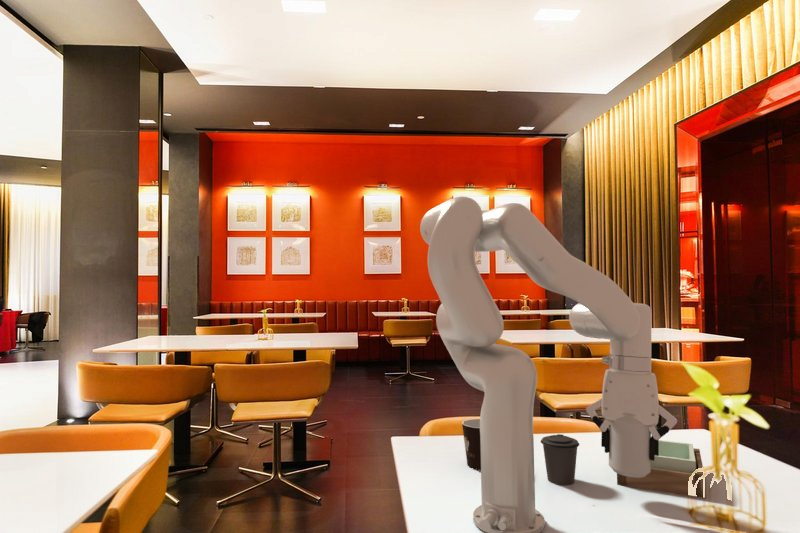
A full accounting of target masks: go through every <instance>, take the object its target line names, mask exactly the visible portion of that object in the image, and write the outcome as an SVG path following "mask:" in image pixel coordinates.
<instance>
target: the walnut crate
mask: <svg viewBox="0 0 800 533" xmlns="http://www.w3.org/2000/svg"><path fill="white" fill-rule="evenodd" d="M693 449H694V455H695V461H696V469H698V468H702V467H703V468H704V466H703V465H704V464H703V460H702V455H701V450H700V448H694V447H693ZM694 471H695V470H694ZM691 475H692V473H685V472H678V471H671V470H664V469H657V468H651V472H650V473H649V474H647V475H646V476H645V477H641V478H635V477H628V476H624V475H620V474H618V473H616V485H619V486H624V487H631V488H637V489H642V490H649V491H655V492H660V493H661V492H662V493H668V494H673V495H681V496H686V497H687V496H688V481H689V477H690V476H691ZM702 475H703V472H697V473H695V475H694V476H693V480H692V484H693V487H694V485H695V483H696V481H697V480H698V478H699V477H701V476H702ZM706 488H707V487H706V486H705V490H707V489H706ZM705 492H706V491H705ZM706 493H707V492H706ZM696 495H697V497H696V498H700V499H704V498H703V479H701V480H699V482H698V484H697V488H696ZM688 497H689V496H688Z"/></svg>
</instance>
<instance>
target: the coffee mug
mask: <svg viewBox="0 0 800 533" xmlns="http://www.w3.org/2000/svg"><path fill="white" fill-rule="evenodd" d="M461 424H462V425H461V426H462V434H463V441H464V448H465V450H464V451H465V458H466V465H467V467H468V466H469V467H468V468H470V469H472V468H473V469H472V470H478V471H479V470H480V471H481V442H480V418H470V419H466V420H463V421H462V422H461Z"/></svg>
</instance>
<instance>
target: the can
mask: <svg viewBox="0 0 800 533" xmlns="http://www.w3.org/2000/svg"><path fill="white" fill-rule="evenodd" d="M622 414H623V415H624V417H620V418H618V419H616V420H615V421H614V422H611V421H610V425H609V452H608V466H609V467H610V468H611V469H612V470H613V472H614V473H616V474H617V473H618V474H620V475H624V476H628V477H635V478H641V477H645V476H646V475H647V474H649V473H650V472H651V460H650V438H651V437H652V434H651V432H650V431H649V427H647V426H644V425H643V423H641V422H640V421H638V420H637V419H635V418H633V416H636V415H634V414H626V413H622Z"/></svg>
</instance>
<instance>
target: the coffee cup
mask: <svg viewBox="0 0 800 533" xmlns="http://www.w3.org/2000/svg"><path fill="white" fill-rule="evenodd" d="M540 443H541V444H542V448H543V453H544V454H543V455H544V462H545V463H544V464H545V470H546V476H547V477H546V478H547V481H548V482H549V483H551V484H554V485H558V486H570V485H573V484H574V483H575V478H576V477H575V476H576V467H577V456H578V447H580V443H579V441H578V440H577V439H576V438H574V437H570V436H567V435H564V434H559V433H558V434H551V435H547V436H543V437H542V438H541V440H540Z"/></svg>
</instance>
